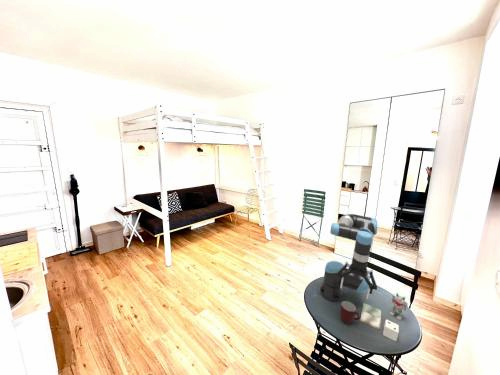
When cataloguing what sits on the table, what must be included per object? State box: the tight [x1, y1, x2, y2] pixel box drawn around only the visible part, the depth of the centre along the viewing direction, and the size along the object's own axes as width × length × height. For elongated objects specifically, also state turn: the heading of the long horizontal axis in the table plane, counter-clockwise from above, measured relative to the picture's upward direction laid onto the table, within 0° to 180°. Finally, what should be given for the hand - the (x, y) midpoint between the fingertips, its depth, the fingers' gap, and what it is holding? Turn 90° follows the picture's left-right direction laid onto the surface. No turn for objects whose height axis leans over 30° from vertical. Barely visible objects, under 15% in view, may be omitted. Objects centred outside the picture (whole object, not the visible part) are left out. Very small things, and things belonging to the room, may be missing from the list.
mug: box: [340, 300, 361, 324], centre depth 118 cm, size 11×8×10 cm
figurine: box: [389, 292, 408, 321], centre depth 124 cm, size 8×8×15 cm
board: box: [359, 302, 382, 331], centre depth 124 cm, size 10×16×1 cm, turn 146°
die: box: [382, 319, 400, 342], centre depth 112 cm, size 6×6×6 cm
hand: (353, 292), depth 115 cm, fingers open, 13 cm apart
